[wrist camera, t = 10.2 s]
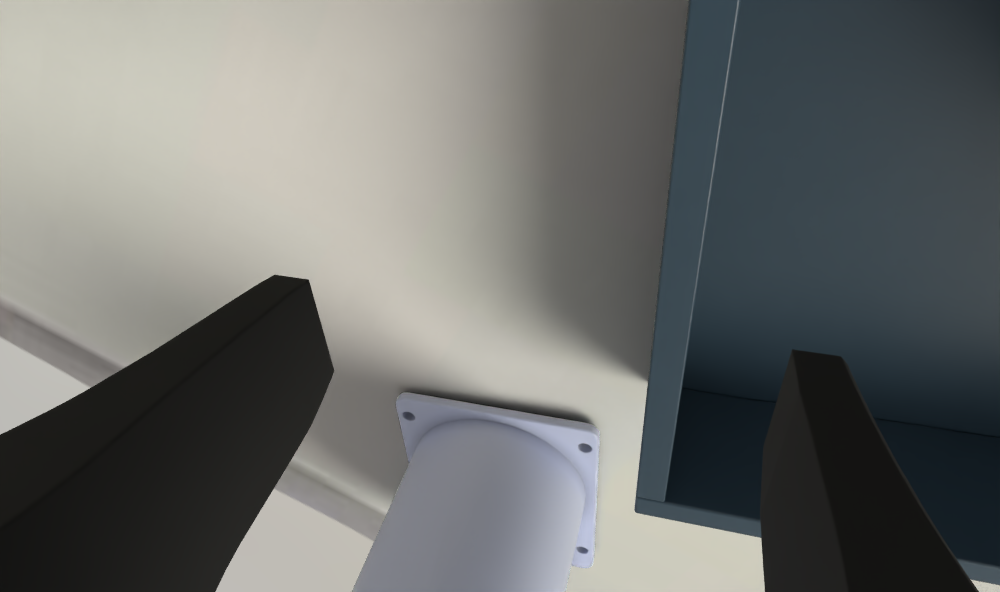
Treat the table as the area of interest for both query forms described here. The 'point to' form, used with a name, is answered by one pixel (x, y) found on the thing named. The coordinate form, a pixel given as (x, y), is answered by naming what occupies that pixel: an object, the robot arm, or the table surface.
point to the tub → (832, 251)
